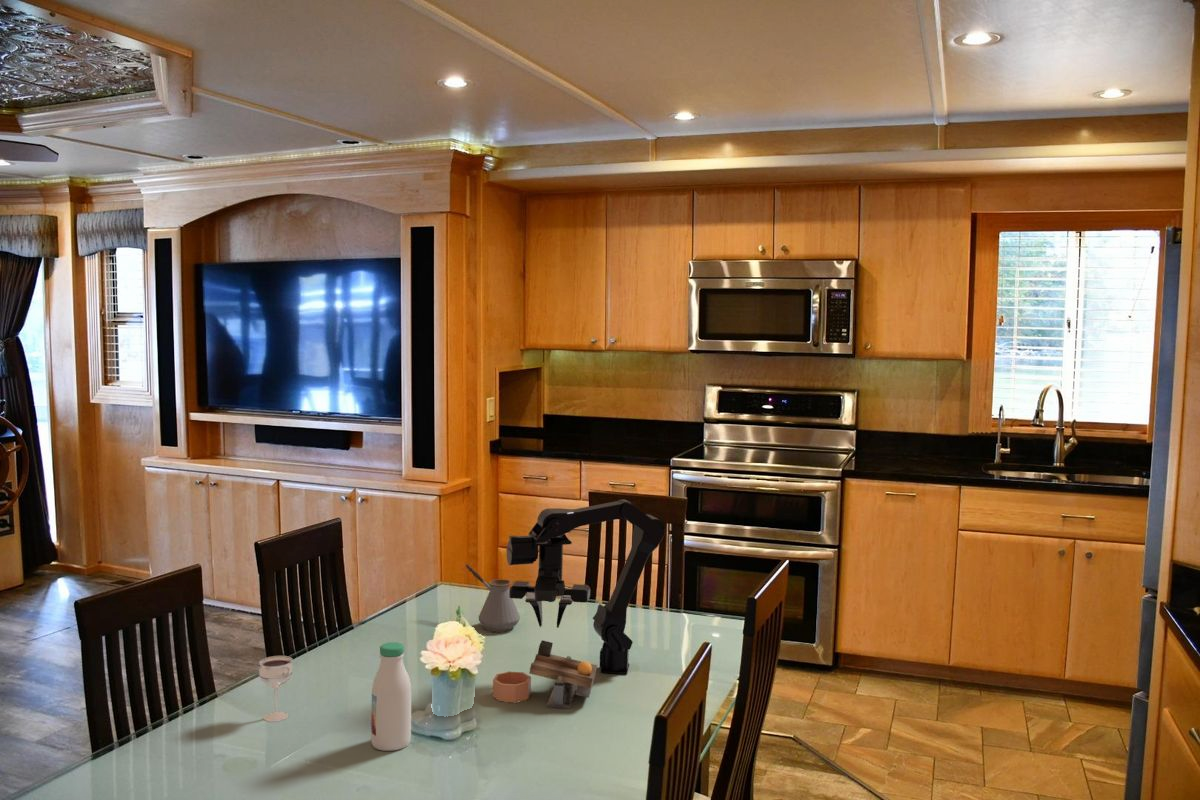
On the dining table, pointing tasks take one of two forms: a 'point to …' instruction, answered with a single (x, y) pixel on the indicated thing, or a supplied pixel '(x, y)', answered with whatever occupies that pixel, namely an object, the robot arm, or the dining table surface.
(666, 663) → the dining table surface
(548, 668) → the lever
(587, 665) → the ball
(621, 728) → the dining table surface
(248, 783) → the dining table surface
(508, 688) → the terracotta octagonal container
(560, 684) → the stand
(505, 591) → the coffee pot
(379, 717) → the milk bottle
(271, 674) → the wineglass
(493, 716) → the dining table surface
